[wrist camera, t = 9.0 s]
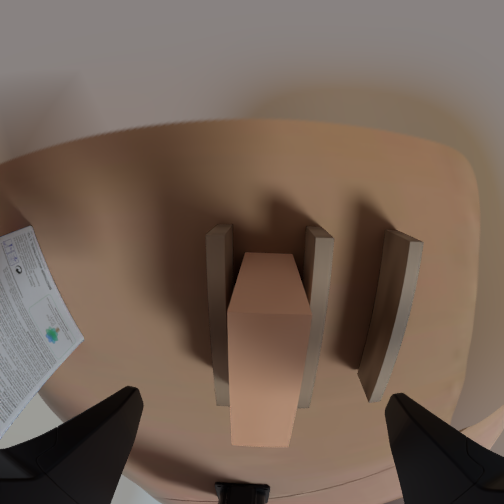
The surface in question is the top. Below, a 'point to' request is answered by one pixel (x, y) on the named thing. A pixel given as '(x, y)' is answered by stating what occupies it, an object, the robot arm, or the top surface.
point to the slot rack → (322, 306)
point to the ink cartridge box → (29, 324)
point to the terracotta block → (266, 349)
